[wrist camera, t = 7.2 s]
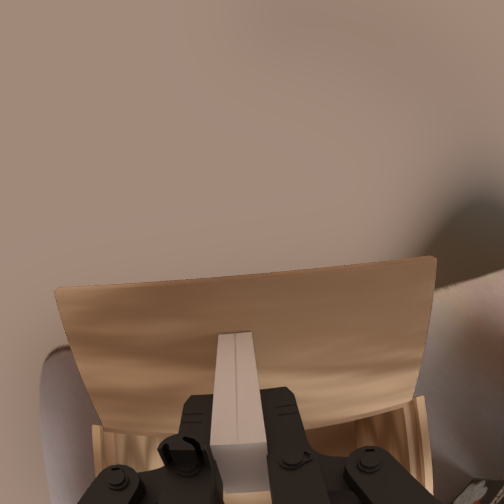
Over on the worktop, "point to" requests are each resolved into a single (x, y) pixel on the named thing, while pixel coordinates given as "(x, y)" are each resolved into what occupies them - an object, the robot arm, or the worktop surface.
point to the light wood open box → (318, 435)
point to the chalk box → (482, 492)
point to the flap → (264, 339)
